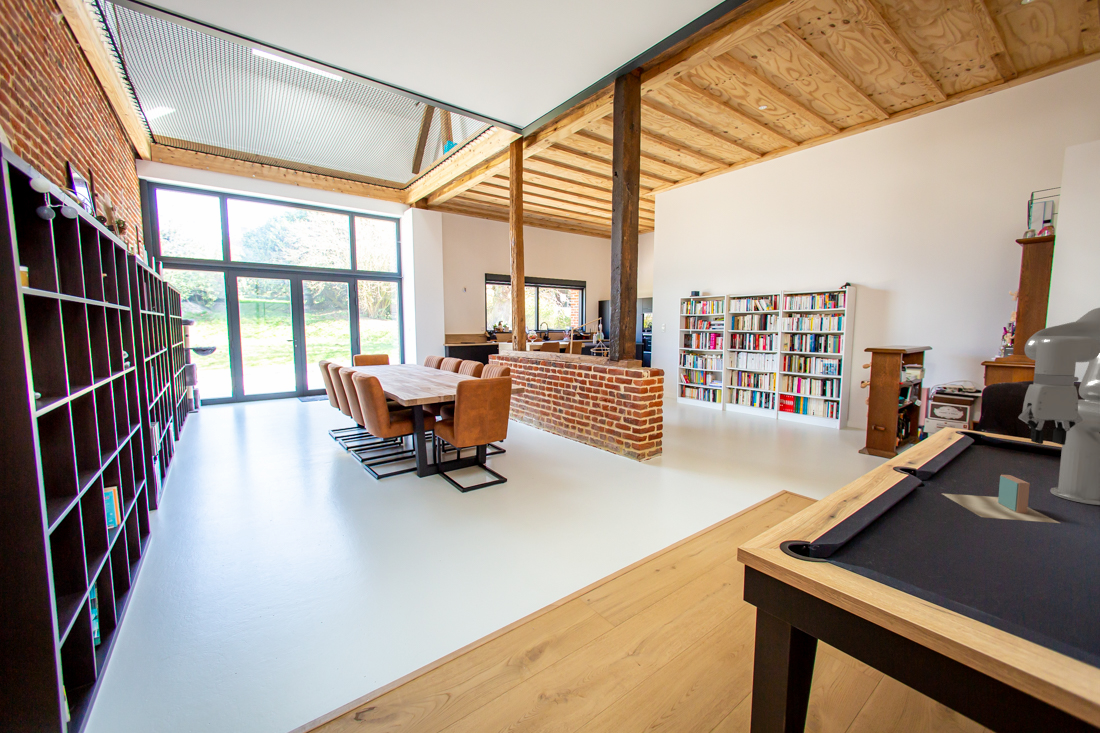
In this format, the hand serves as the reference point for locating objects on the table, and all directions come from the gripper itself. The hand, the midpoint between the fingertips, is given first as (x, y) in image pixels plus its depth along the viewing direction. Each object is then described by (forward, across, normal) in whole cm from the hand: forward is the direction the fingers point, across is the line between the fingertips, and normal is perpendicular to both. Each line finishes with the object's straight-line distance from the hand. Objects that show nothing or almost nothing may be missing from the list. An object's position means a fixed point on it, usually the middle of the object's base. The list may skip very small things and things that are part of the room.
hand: (1047, 442), depth 125 cm
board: (+21, +11, 0) cm, 24 cm away
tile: (+20, +7, 0) cm, 22 cm away
